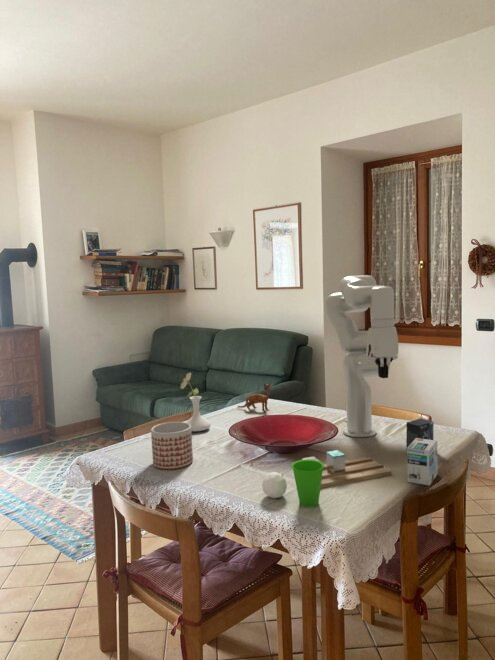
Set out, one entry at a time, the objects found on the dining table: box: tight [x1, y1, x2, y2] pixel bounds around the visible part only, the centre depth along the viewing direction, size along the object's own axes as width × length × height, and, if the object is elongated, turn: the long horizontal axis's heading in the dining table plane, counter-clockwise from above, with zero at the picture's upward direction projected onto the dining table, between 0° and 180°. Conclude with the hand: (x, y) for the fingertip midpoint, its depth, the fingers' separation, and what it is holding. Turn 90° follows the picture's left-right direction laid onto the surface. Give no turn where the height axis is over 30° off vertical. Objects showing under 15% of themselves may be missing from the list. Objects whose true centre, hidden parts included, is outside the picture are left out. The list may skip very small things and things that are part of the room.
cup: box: [291, 459, 325, 508], centre depth 144 cm, size 9×9×11 cm
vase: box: [150, 421, 194, 471], centre depth 181 cm, size 14×14×13 cm
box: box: [405, 417, 434, 452], centre depth 182 cm, size 8×6×11 cm
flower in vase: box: [179, 372, 212, 432], centre depth 217 cm, size 13×11×25 cm
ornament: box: [261, 471, 288, 499], centre depth 150 cm, size 7×7×8 cm
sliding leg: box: [326, 449, 346, 473], centre depth 164 cm, size 5×4×6 cm
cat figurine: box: [237, 382, 272, 413], centre depth 245 cm, size 18×7×14 cm, turn 65°
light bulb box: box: [406, 438, 438, 486], centre depth 159 cm, size 11×7×11 cm, turn 148°
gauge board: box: [301, 456, 392, 489], centre depth 165 cm, size 14×26×6 cm, turn 109°
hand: (383, 377), depth 177 cm, fingers closed
